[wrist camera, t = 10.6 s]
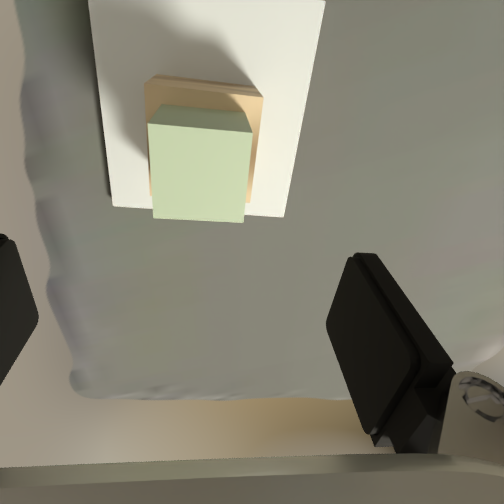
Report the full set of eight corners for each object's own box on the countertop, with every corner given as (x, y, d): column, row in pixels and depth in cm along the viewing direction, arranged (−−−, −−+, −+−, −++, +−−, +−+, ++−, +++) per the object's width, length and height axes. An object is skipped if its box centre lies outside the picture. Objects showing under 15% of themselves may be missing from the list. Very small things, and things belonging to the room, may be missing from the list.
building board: (88, -37, 20) (83, -40, 19) (321, 2, 22) (325, 1, 22) (115, 201, 29) (113, 206, 28) (281, 212, 31) (283, 217, 30)
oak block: (156, 74, 23) (143, 83, 19) (255, 86, 24) (263, 97, 20) (159, 170, 27) (149, 195, 23) (244, 177, 28) (250, 202, 24)
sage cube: (161, 104, 20) (147, 123, 15) (245, 112, 20) (253, 132, 16) (164, 183, 22) (153, 218, 18) (238, 188, 23) (243, 222, 19)
